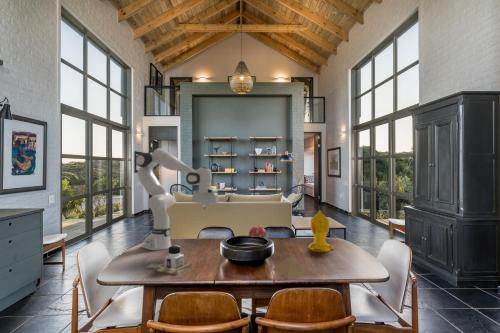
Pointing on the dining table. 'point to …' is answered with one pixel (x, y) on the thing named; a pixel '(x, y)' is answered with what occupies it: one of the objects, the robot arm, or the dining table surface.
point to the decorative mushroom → (257, 231)
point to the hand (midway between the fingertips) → (205, 209)
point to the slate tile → (152, 266)
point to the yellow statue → (319, 233)
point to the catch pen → (173, 271)
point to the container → (174, 258)
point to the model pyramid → (291, 268)
